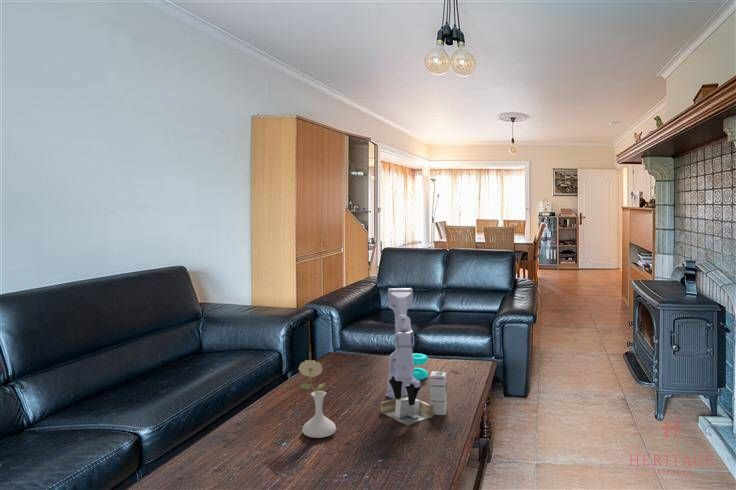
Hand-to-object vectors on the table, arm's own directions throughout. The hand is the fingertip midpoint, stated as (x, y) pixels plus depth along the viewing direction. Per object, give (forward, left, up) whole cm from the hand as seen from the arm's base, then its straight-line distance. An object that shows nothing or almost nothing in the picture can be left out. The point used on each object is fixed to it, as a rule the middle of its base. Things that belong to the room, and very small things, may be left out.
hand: (404, 401), depth 176 cm
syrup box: (+4, +13, -6) cm, 15 cm away
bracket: (+2, -1, -5) cm, 5 cm away
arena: (-1, +2, -6) cm, 6 cm away
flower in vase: (-8, -32, -6) cm, 34 cm away
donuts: (-31, +34, -6) cm, 46 cm away
